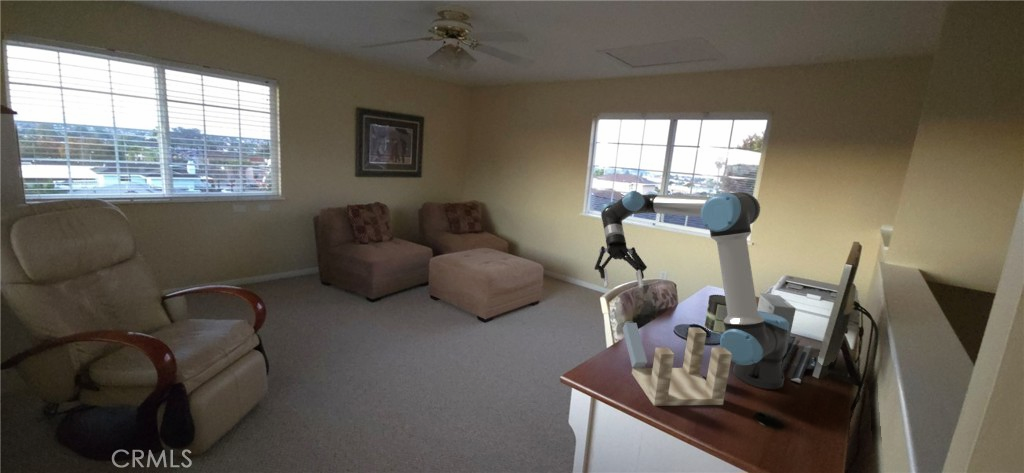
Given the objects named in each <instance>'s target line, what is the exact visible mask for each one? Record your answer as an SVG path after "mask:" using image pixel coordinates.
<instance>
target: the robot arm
mask: <svg viewBox="0 0 1024 473" xmlns="http://www.w3.org/2000/svg"><path fill="white" fill-rule="evenodd" d="M636 214H637V215H638V214H639V215H641V214H662V215H663V214H664V215H674V216H684V217H685V216H686V217H700V218H701V221H702V223H703V225H704V227H706V228H707V229H708V230H709V233H710V238H711V239H712V240H714V241H715V242H716V246H717V251H718V258H719V259H718V260H719V265H720V271H721V278H722V285H723V291H724V296H725V300H726V306H727V313H728V315H727V317H726V318H725V319H724V328H725V332H724V333H723V334H721V336H720V338H719V344H720V348H725V349H727V350H728V351H729V352H730V353H731V354H732V358H731V362H733V363H734V365H733V374H734V375H735V376H736V377H737V378H738V379H739V380H741V381H742V382H744V383H745V384H748V385H751V386H752V387H753V386H754V387H756V388H759V389H764V390H779V389H781V388H782V387H783V386H784V383H785V382H784V381H785V374H784V369H783V362H782V361H783V358H784V356H783V353H784V348H785V344H786V339H787V334H788V332H789V322H788V321H787V320H786V319H784V318H782V317H780V316H778V315H775V314H771V313H767V312H763V311H758V310H757V308H758V303H757V298H756V292H755V284H754V279H753V272H752V266H751V264H752V263H751V258H750V252H749V246H748V237H749V236H750V235H751V233H752V228H751V225H752V224H753V223H755V222H756V221H757V219H758V218H759V216H760V214H761V206H760V202H759V201H758V199H757V198H756V197H755V196H753V195H752V194H750V193H747V192H743V191H742V192H740V191H739V192H722V193H719V194H715V195H712V196H706V195H705V196H704V195H703V196H700V195H676V194H675V195H673V194H671V195H670V194H668V195H667V194H656V193H655V194H654V193H649V194H642V193H641V192H639V191H637V190H631V191H629V192H628V193H626V194H625V195H623V196H622V197H621V198H620V199H619V200H617V201H616V202H614V201H609V202H607V203H604V204H603V205H601V208H600V215H601V216H600V217H601V221H602V225H603V226H602V227H603V231H604V232H603V233H604V238H605V244H606V247H605V246H601V247H600V249H599V255H598V258H597V260H596V262H595V266H594V270H595V271H598V273H599V274H600V278H601V279H602V280H603V285H604V288H605V289H606V288H608V286H609V285H610V283H609V277H608V270H607V268H606V267H607V265H608V264H609V262H610V261H611V260H612V259H614V260H623V261H624V262H627V264H629V265H630V266H631V267H632V268H633V269H634V270H635V271H636V272H635V276H636V281H637V284H638V289H642V287H644V280H643V279H644V277H645V276H644V271H646V269H647V268H648V266H647V265H646V263H645V262H644V261H643V259H642V258H641V257H640V255H639V254H638V252H637V251H636V248H635V247H634V246H632V247H631V248H628V247H627V240H626V237H625V232H624V226H623V221H624V220H625V219H627V218H629V217H630V216H632V215H636ZM606 253H607V254H608V257H607V258H606V259H605V261H604V262H603V263H602V260H603V257H604V255H605V254H606ZM601 263H602V265H601Z"/></svg>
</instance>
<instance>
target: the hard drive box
mask: <svg viewBox="0 0 1024 473" xmlns="http://www.w3.org/2000/svg"><path fill="white" fill-rule="evenodd" d="M758 297H759V298H758V303H757V310H758V311H763V312H767V313H771V314H775V315H778V316H780V317H782V318H784V319H786V320H787V321H788V322H789V332H788V334H787V339H786V344H785V348H784V353H786V354H787V351H788V348H789V342H790V337H791V333H792V329H793V328H792V327H793V324H794V320H795V314H796V307H795V306H794V305H792V304H791V303H789V301H787V300H786V299H785V298H784V297H782V296H781V295H779V294H772V293H771V294H770V293H759V296H758Z"/></svg>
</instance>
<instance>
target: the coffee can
mask: <svg viewBox="0 0 1024 473" xmlns="http://www.w3.org/2000/svg"><path fill="white" fill-rule="evenodd" d="M727 315H728V313H727V306H726V300H725V295H722V294H711V295H709V296H708V302H707V308H706V314H705V320H704V329H705V328H706V329H705V330H707V329H708V330H709V332H710V331H711V333H714V334H717V335H722V334H723V333H724V332H725V328H724V319H725V318H726V317H727ZM708 330H707V331H708Z"/></svg>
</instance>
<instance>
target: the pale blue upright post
mask: <svg viewBox="0 0 1024 473" xmlns="http://www.w3.org/2000/svg"><path fill="white" fill-rule="evenodd" d="M622 332H623V336H624V340H625V344H626V349H627V352H628V354H629V355H628V356H629V360H630V363H631V369H632V368H645V366H646V365H647V363H648V360H647V359H648V358H647V355H646V353H645V349H644V346H643V342H642V338H641V334H640V330H639V328H638V323H637V322H634V321H633V320H628V321H625V322H624V324H623V327H622Z"/></svg>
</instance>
